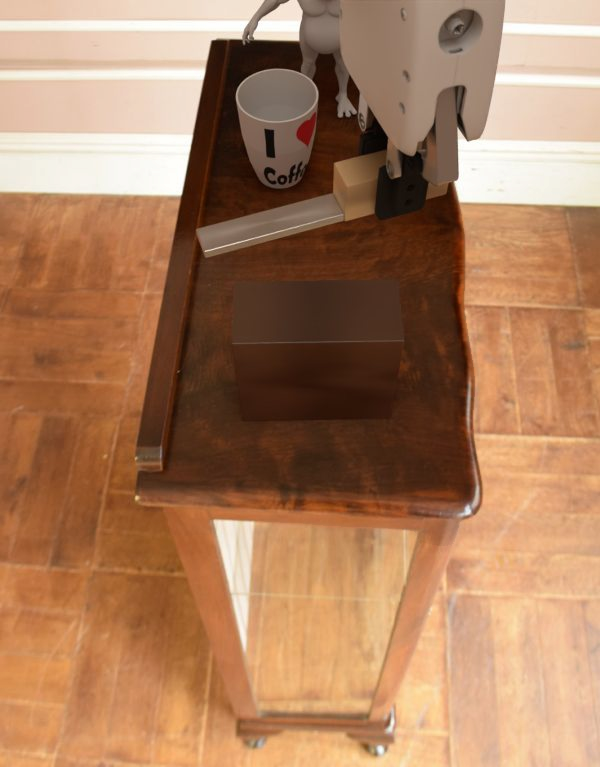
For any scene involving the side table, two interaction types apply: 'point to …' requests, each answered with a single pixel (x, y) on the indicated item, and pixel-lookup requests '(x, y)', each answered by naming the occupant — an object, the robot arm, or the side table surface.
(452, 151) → the robot arm
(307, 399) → the dark rectangular block
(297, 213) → the knife
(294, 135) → the cup
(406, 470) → the side table surface
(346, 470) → the side table surface
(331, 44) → the figurine
